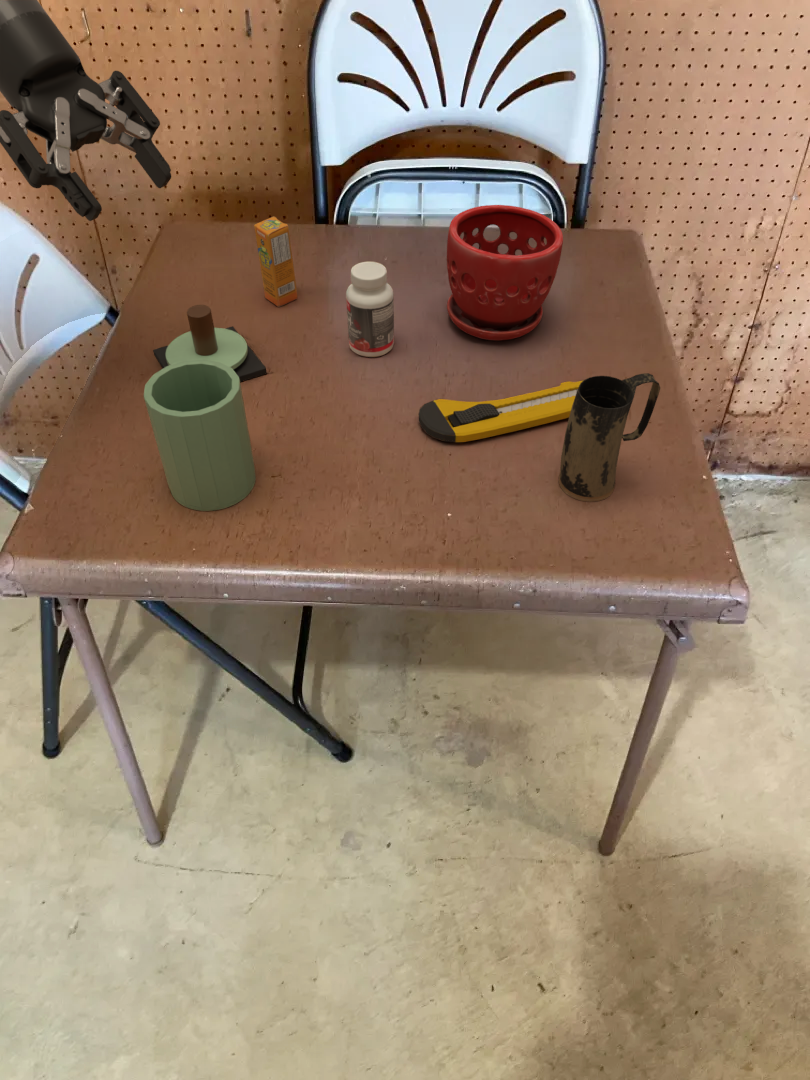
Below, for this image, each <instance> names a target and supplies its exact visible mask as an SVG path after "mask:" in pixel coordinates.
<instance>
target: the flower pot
mask: <svg viewBox="0 0 810 1080" xmlns="http://www.w3.org/2000/svg"><path fill="white" fill-rule="evenodd" d="M489 226H496V227H497V228H498V229H499V231H500V232H499V236H498V237H497V238H495V239H493V240H487V239H486V238H485V236H484V233H485V230H486V229H487V227H489ZM475 229H477V233H476V234H473V232H474V230H475ZM511 233H515V234H516V238H511V237H510V236H511V235H510V234H511ZM462 234H463V237H462V238H461V236H462ZM530 239H533V240H534V241H535V242H536V245H535V247H532V246H531V244H530V243H529V242H530V241H529V240H530ZM545 240H546V241H545ZM446 241H447V242H446V269H447V275H448V276H447V279H448V284H449V288H450V291H451V295H450V296H449V297H448V300H447V303H446V310H447V313H448V317H449V318H450V320H451V321H452V322H453V324H454V325H455V326H456V327H457V328H458V329H460V330H461V331H463V332H464V333H466V334H468V335H470V336H473V337H475V338H479V339H482V340H486V341H487V340H488V341H507V340H508V341H509V340H513V339H517V338H520V337H523V336H525V335H527V334H528V333H530V332H531V331H534V329H536V327H537V326H538V325H539V324H540V322H541V320H542V318H543V313H544V312H543V310H544V309H543V304H544V302H545V301H546V299H547V298H548V296H549V293H550V291H551V289H552V286H553V285H554V284H553V283H554V281H555V279H556V276H557V272H558V268H559V266H560V261H561V256H562V251H563V244H564V234H563V231H562V229H561V227H560V226H559V225H558V224H557V223H556V222H555V221H554V220H552V219H551V218H550V217H548V216H546V215H544V214H543V213H541V212H539V211H535V210H532V209H528V208H525V207H521V206H515V205H507V204H506V205H505V204H488V205H487V204H486V205H479V206H475V207H471V208H468V209H466V210H463V211H462V212H459V213H458V214H456V215H455V216H454V217H453V218H452V220H451V221H450V223H449V227H448V232H447V240H446ZM545 242H546V243H545ZM475 244H478V248H477V247H475V246H474V245H475ZM500 245H505V246H507V252H505V253H501V252H500V251H499V246H500ZM517 251H521V254H520V255H516V252H517Z"/></svg>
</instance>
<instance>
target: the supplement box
mask: <svg viewBox="0 0 810 1080" xmlns="http://www.w3.org/2000/svg"><path fill="white" fill-rule="evenodd" d="M253 226H254V233H255V240H256V246H257V254H258V259H259V260H258V261H259V267H260V273H261V278H262V280H261V281H262V286H263V292H264V298H265V299H266V300H268V301H269V302H271V303H272V304H274V305H275V306H277V307H278V308H280V307H283V306H284V305H287V304H289V303H291V302H293V301H295V300H297V299H298V298H299V295H298V288H297V281H296V273H295V267H294V259H293V251H292V244H291V237H290V236H291V235H290V229H289V225H288V224H287V223H286V222H285V223H284V222H282V221H281V220H279V219H278V218H277V217H276V216H272V217H269V218H266V219H264V220H262V221H260V222H257V223H255V224H254V225H253Z"/></svg>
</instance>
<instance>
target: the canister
mask: <svg viewBox="0 0 810 1080" xmlns="http://www.w3.org/2000/svg"><path fill="white" fill-rule="evenodd" d="M143 399H144V403H145V407H146V411H147V413H148V418H149V421H150V425H151V428H152V432H153V435H154V439H155V442H156V446H157V450H158V453H159V457H160V461H161V464H162V468H163V471H164V472H163V473H164V475H165V480H166V482H167V486H168V489H169V491H170V494H171V496H172V497H173V499H174V500H175V501H176V502H177V503H178V504H180V505H181V506H183V507H185V508H187V509H190V510H193V511H199V512H214V511H220V510H224V509H226V508H230V507H232V506H234V505H236V504H238V503H240V502H242V501H243V500H244V499H246V497H248V496H249V494H250V493H251V492H252V491H253V489H254V487H255V484H256V477H257V476H256V468H255V467H256V465H255V461H254V455H253V450H252V449H253V448H252V444H251V437H250V431H249V426H248V420H247V413H246V408H245V402H244V397H243V391H242V385H241V382H240V379H239V377H238V375H237V374H236V373H235V371H234V370H233V369H232V368H231V367H229V366H227V365H225V364H223V363H221V362H217V361H211V360H204V359H203V360H188V361H182V362H179V363H175V364H172V365H169V366H166V367H165V368H161V369H160V370H158V371H157V372H155V373H153V375H151V377H150V378H149V379H148V381H147V382H146V383H145V385H144V390H143Z"/></svg>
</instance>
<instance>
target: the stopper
mask: <svg viewBox="0 0 810 1080" xmlns="http://www.w3.org/2000/svg"><path fill="white" fill-rule="evenodd" d="M186 315H187V320H188V325H189V330H190V331H189V330H188V331H186V332H185V333H182V334H180V335H178V336H176V337H175V338H174V339H173V340H171V342H169V344H168V345H169V346H168V347H167V349H166V360H167V363H168V365H172V364H175V363H179V362H182V361H188V360H203V359H204V360H211V361H217V362H221V363H223V364H225V365H227V366H229V367H231V368H232V369H233V370H234V369H235V368H237V367H238V366H239V365H241V364H242V363H243V361H244V360H245V358H246V357H247V354H248V348H247V345H248V343H247V341H246V339H245V338H244V337H243V336H242V335H241V334H240V333H239V332H238V333H239V334H238V333H236V332H234V331H232V330H228V329H225V328H223V327H215V325H214V319H213V314H212V309H211V307H210V306H208V305H206V304H195V305H192V306H190V307H189V308H188V309H187V310H186Z"/></svg>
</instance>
